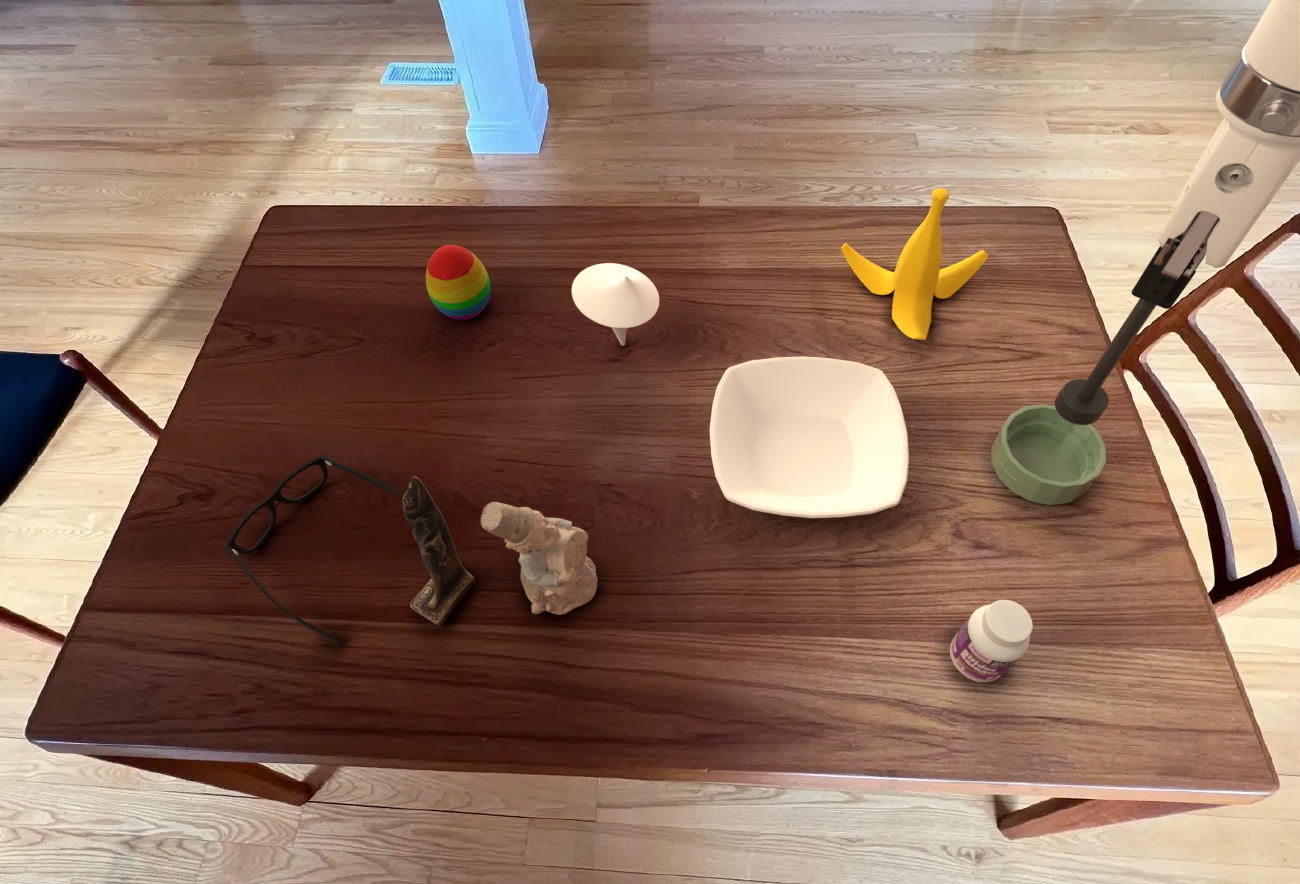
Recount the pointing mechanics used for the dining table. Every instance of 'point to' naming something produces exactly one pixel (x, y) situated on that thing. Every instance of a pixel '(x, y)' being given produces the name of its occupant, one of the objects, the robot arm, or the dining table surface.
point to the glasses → (269, 504)
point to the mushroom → (615, 297)
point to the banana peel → (917, 273)
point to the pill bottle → (991, 640)
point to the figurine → (545, 556)
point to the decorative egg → (457, 282)
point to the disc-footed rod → (1100, 373)
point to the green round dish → (1047, 455)
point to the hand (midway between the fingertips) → (1155, 291)
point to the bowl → (809, 438)
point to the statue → (435, 556)
